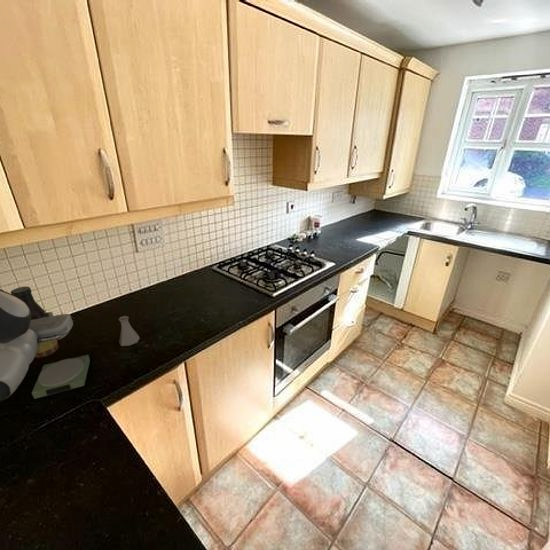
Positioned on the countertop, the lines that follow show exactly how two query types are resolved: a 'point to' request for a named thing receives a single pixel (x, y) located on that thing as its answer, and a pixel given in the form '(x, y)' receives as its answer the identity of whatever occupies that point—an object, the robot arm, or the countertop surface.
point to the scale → (61, 376)
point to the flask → (127, 333)
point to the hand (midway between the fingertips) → (33, 317)
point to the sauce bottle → (36, 313)
